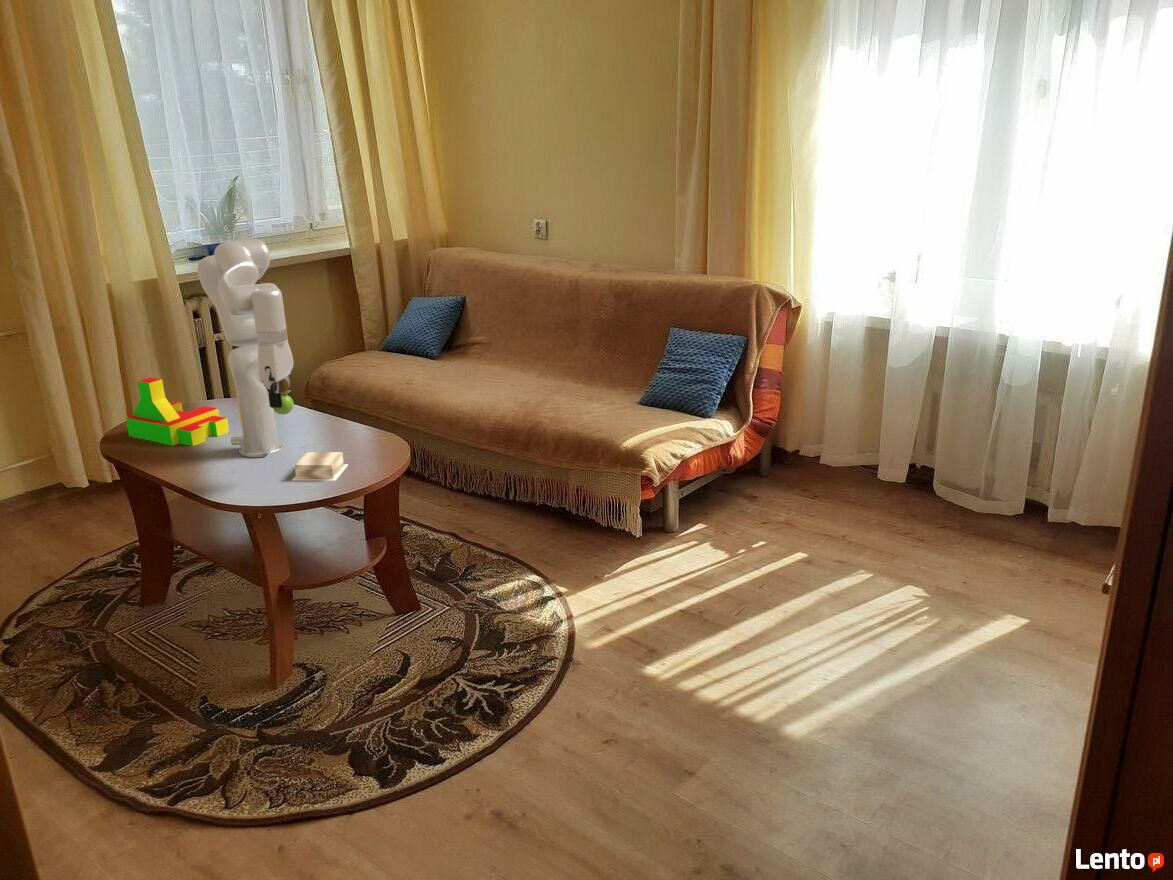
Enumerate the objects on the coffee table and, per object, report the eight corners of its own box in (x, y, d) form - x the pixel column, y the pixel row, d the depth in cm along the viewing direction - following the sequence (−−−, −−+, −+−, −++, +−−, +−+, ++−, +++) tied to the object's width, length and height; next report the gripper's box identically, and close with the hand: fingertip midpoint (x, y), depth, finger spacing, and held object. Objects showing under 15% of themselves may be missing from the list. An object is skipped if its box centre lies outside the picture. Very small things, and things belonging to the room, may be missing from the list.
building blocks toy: (186, 449, 277) (176, 390, 271) (129, 438, 288) (118, 381, 281) (235, 430, 293) (226, 374, 287) (179, 420, 303) (169, 366, 297)
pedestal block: (296, 478, 249) (294, 465, 248) (308, 465, 258) (306, 452, 257) (332, 479, 249) (331, 465, 247) (343, 465, 258) (342, 452, 257)
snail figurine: (272, 411, 248) (266, 368, 244) (297, 410, 249) (291, 367, 245) (267, 417, 243) (260, 373, 239) (291, 416, 243) (286, 372, 239)
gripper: (271, 329, 247) (280, 394, 253) (243, 344, 231) (253, 413, 237) (298, 329, 247) (306, 394, 253) (272, 344, 231) (281, 413, 237)
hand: (280, 403), depth 245 cm, fingers closed on snail figurine, 5 cm apart
